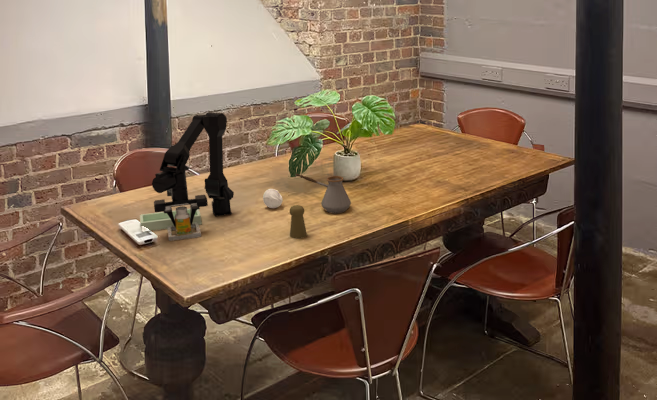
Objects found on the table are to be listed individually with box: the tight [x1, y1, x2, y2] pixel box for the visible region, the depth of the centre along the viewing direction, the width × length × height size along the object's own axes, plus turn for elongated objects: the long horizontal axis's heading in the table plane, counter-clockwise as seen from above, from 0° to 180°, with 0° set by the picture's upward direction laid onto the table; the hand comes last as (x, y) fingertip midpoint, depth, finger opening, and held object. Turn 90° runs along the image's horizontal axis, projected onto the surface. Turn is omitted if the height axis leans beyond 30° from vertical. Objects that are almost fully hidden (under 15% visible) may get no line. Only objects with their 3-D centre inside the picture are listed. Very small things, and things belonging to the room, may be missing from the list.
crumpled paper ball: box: [262, 188, 284, 209], centre depth 282 cm, size 8×8×8 cm
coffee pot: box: [294, 173, 352, 214], centre depth 276 cm, size 21×12×15 cm, turn 85°
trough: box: [139, 208, 202, 232], centre depth 270 cm, size 22×10×4 cm, turn 104°
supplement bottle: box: [175, 205, 192, 235], centre depth 260 cm, size 5×5×10 cm
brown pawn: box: [289, 204, 308, 239], centre depth 253 cm, size 6×6×11 cm
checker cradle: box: [166, 222, 202, 242], centre depth 261 cm, size 11×11×2 cm
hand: (183, 225), depth 260 cm, fingers closed on supplement bottle, 5 cm apart
